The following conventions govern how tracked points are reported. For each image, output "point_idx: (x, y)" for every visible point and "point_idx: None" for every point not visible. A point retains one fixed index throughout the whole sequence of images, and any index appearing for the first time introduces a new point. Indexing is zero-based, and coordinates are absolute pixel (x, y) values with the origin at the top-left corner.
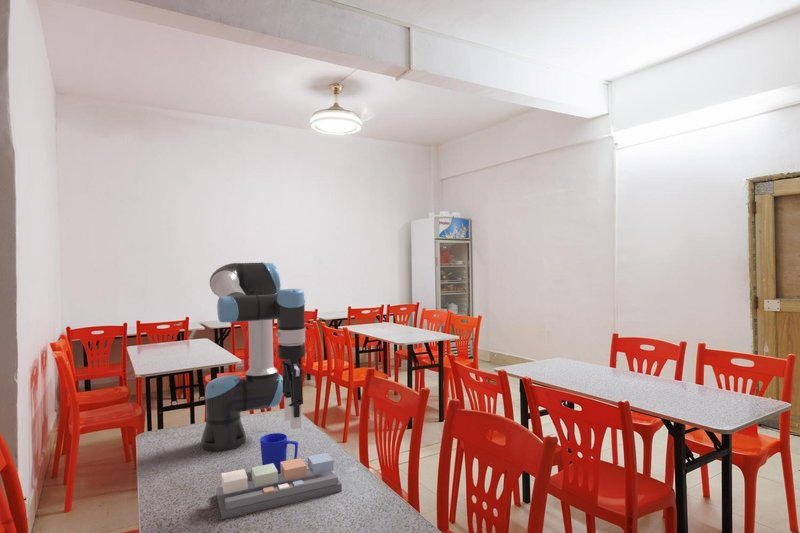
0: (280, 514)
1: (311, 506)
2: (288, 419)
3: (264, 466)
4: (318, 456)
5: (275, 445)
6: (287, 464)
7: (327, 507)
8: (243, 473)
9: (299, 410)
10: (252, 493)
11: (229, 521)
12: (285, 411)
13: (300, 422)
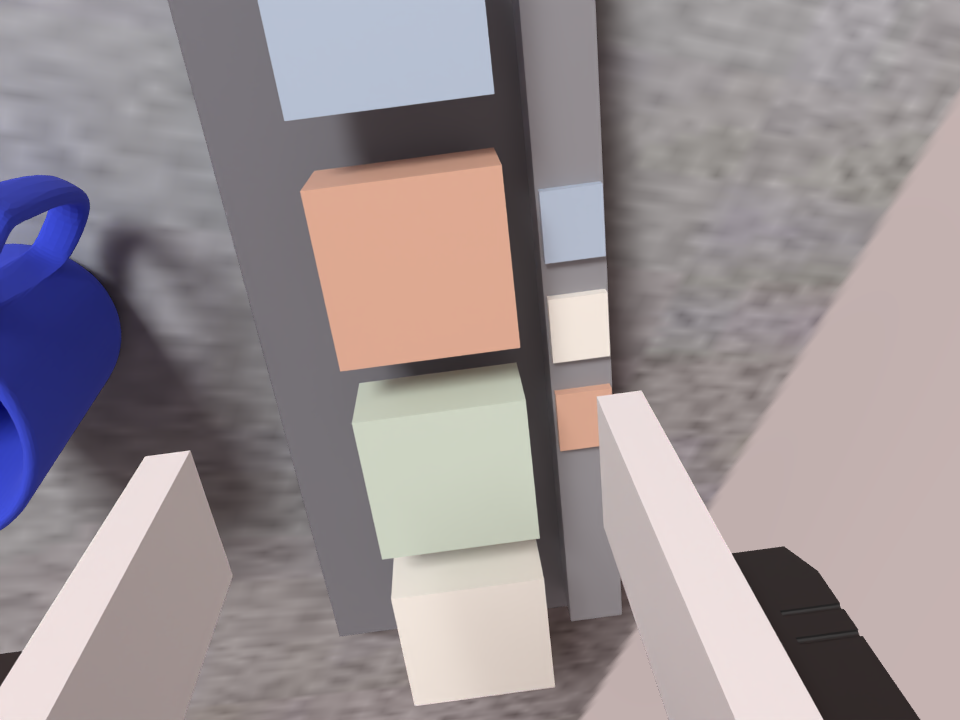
0: (696, 316)
1: (694, 124)
2: (214, 544)
3: (392, 483)
4: (315, 2)
5: (41, 417)
6: (415, 321)
7: (760, 15)
8: (464, 601)
9: (878, 662)
10: (579, 499)
11: None
12: (185, 699)
13: (670, 446)
